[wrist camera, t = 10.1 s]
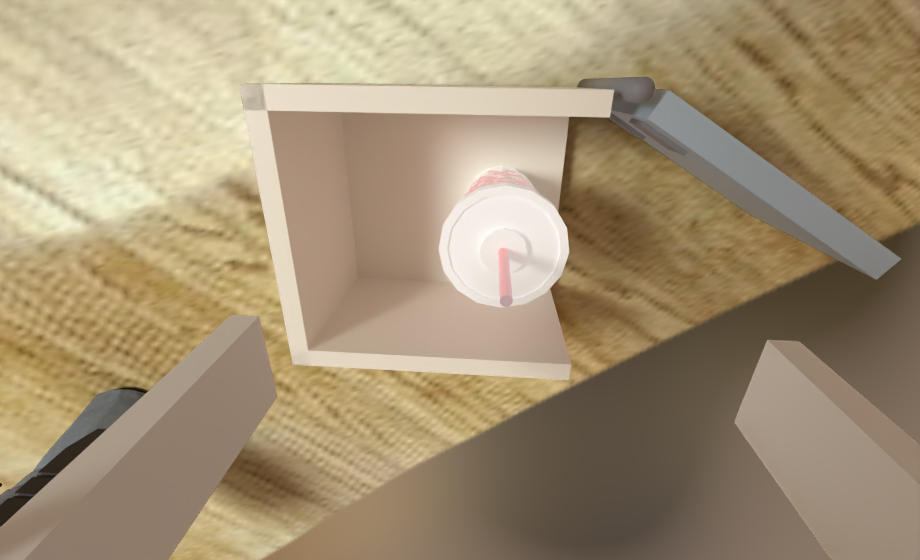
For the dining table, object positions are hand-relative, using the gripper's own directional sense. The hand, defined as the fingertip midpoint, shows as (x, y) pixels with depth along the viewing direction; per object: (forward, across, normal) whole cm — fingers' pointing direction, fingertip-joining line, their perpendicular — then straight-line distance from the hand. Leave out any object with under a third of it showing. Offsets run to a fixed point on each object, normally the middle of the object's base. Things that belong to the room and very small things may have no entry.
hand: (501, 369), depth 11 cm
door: (+19, +12, +3) cm, 22 cm away
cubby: (+19, -3, 0) cm, 19 cm away
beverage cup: (+18, 0, 0) cm, 18 cm away
